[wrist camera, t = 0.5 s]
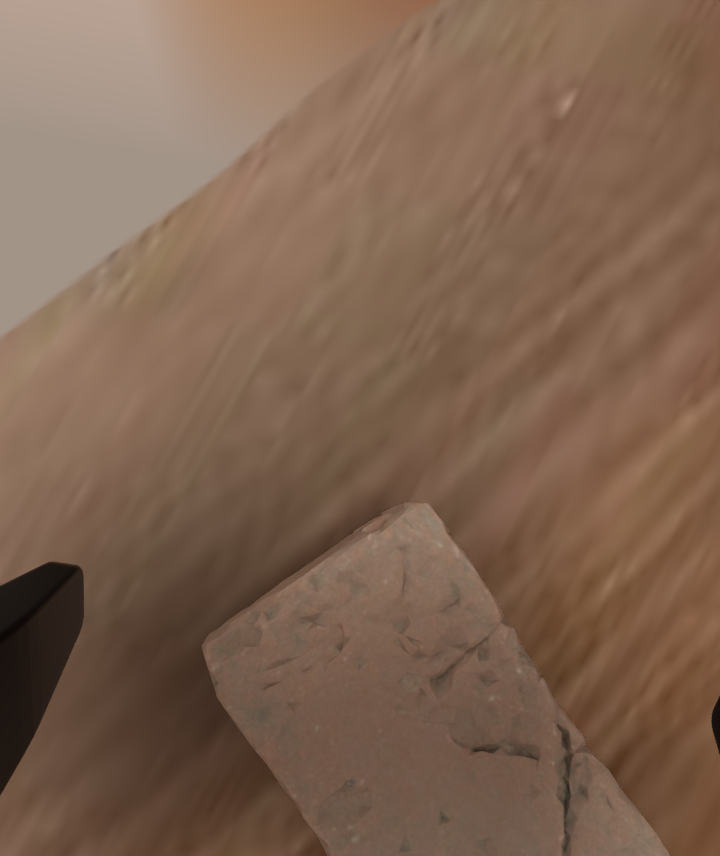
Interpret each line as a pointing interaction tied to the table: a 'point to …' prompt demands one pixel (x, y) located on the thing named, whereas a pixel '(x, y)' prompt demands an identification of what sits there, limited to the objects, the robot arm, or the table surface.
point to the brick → (413, 708)
